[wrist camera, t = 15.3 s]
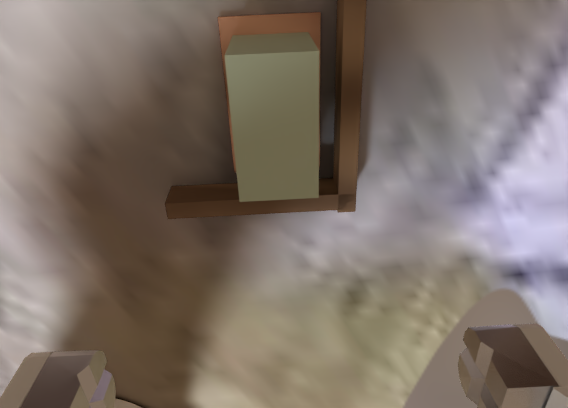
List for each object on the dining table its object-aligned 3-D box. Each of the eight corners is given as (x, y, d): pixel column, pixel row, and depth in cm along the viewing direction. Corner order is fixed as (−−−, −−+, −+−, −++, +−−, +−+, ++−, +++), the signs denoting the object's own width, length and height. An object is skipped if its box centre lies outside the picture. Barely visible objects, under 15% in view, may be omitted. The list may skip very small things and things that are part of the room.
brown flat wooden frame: (349, 193, 31) (355, 211, 29) (174, 203, 31) (168, 221, 29) (359, -45, 24) (368, -45, 22) (129, -35, 24) (116, -34, 21)
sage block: (308, 32, 25) (319, 50, 20) (309, 155, 29) (318, 197, 24) (232, 35, 25) (224, 55, 20) (243, 158, 29) (239, 202, 24)
